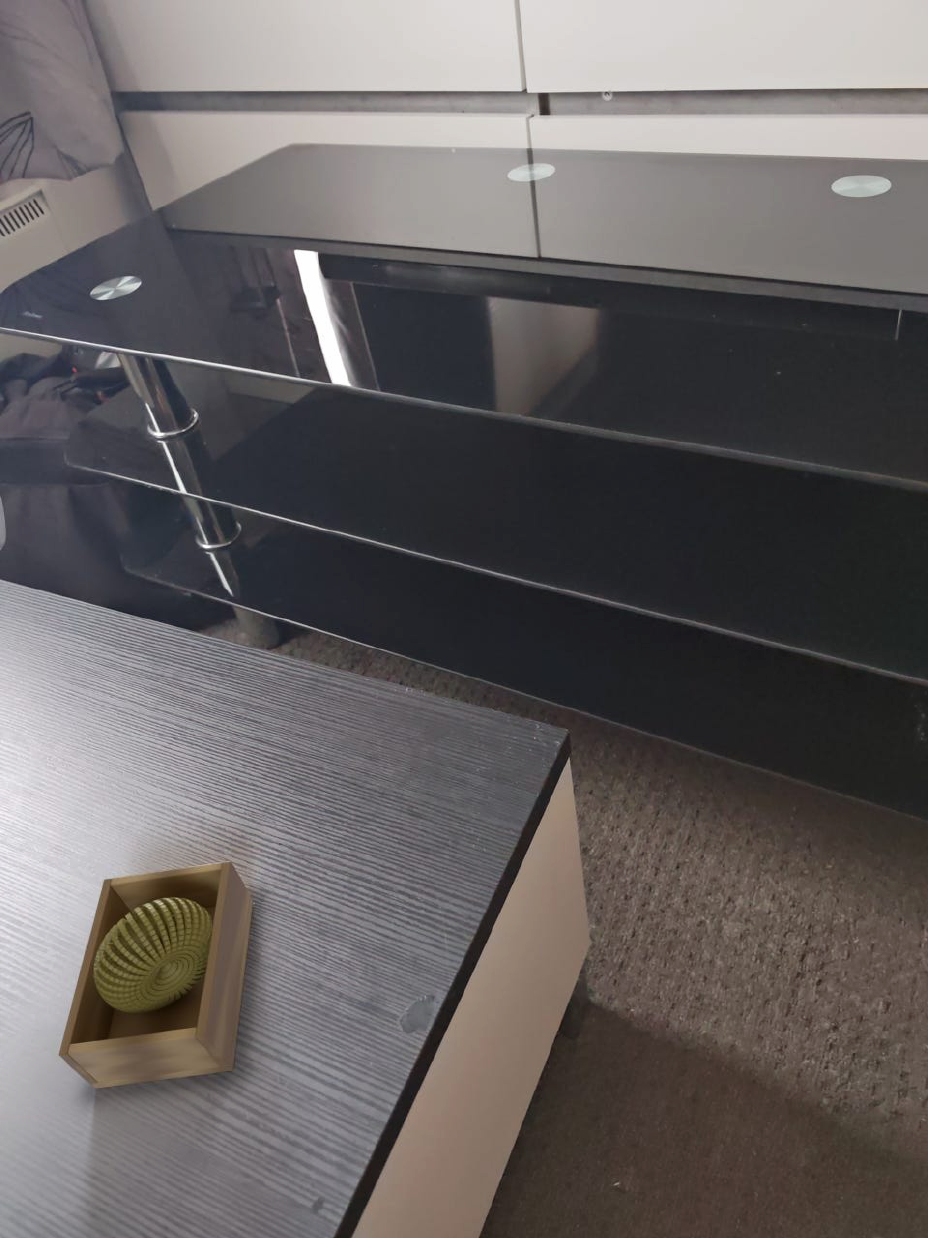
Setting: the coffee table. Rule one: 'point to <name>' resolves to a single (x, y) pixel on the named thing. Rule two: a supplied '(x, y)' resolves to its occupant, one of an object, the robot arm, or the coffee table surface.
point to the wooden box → (202, 1018)
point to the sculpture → (153, 955)
